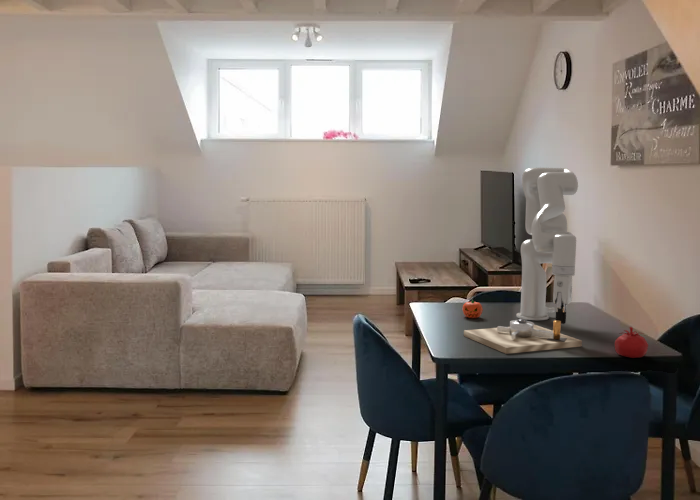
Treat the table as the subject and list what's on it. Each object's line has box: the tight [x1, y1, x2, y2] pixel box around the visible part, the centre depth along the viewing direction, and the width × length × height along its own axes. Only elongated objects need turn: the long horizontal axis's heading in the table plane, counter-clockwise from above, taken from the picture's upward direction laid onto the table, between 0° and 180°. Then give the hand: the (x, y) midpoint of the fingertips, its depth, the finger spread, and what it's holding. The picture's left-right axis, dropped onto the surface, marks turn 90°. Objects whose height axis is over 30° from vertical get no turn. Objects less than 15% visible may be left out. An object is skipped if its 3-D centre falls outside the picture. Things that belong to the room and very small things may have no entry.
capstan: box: [496, 318, 562, 339], centre depth 243 cm, size 22×17×6 cm
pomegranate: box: [614, 326, 649, 359], centre depth 227 cm, size 10×10×9 cm
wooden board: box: [463, 324, 583, 355], centre depth 245 cm, size 30×26×2 cm
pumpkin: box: [462, 299, 483, 319], centre depth 283 cm, size 8×8×7 cm
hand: (560, 322), depth 245 cm, fingers closed
